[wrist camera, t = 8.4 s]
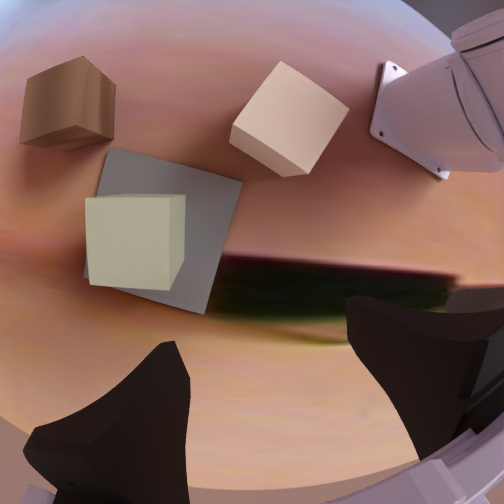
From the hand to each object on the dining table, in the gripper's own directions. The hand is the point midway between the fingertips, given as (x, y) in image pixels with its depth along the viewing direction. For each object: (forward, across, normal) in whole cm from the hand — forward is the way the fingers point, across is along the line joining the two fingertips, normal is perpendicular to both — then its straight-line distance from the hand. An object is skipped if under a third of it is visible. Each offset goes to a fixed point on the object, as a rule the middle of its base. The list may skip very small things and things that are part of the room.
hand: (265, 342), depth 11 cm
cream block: (+10, -4, -9) cm, 14 cm away
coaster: (+10, +6, -4) cm, 12 cm away
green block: (+9, +6, -5) cm, 12 cm away
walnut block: (+10, +9, -14) cm, 20 cm away
